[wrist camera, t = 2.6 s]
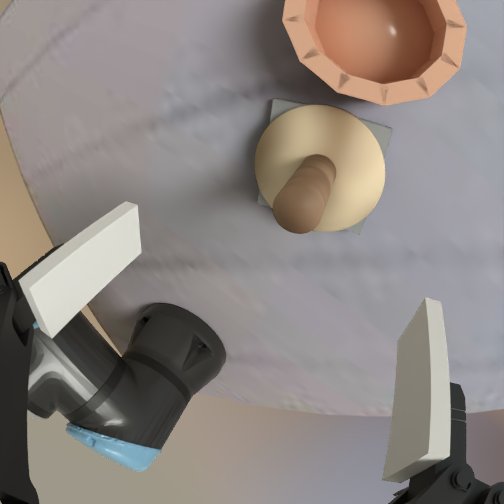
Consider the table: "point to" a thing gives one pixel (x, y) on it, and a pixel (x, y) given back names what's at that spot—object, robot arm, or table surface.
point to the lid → (319, 169)
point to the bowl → (378, 45)
